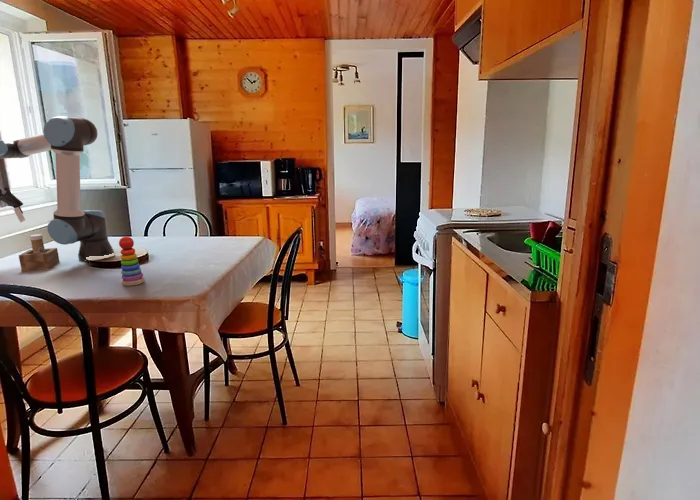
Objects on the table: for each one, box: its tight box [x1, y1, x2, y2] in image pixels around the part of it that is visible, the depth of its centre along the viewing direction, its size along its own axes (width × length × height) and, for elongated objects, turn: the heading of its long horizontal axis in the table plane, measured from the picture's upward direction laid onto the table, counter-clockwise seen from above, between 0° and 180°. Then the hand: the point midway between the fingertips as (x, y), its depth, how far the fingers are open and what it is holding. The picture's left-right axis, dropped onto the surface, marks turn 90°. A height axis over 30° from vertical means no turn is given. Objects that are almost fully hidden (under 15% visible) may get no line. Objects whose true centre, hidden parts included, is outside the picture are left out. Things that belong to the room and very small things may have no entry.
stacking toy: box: [118, 236, 145, 287], centre depth 169 cm, size 8×8×19 cm
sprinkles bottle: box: [29, 233, 46, 254], centre depth 196 cm, size 5×5×14 cm
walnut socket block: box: [18, 247, 61, 272], centre depth 196 cm, size 11×11×7 cm
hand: (8, 224), depth 197 cm, fingers open, 13 cm apart
